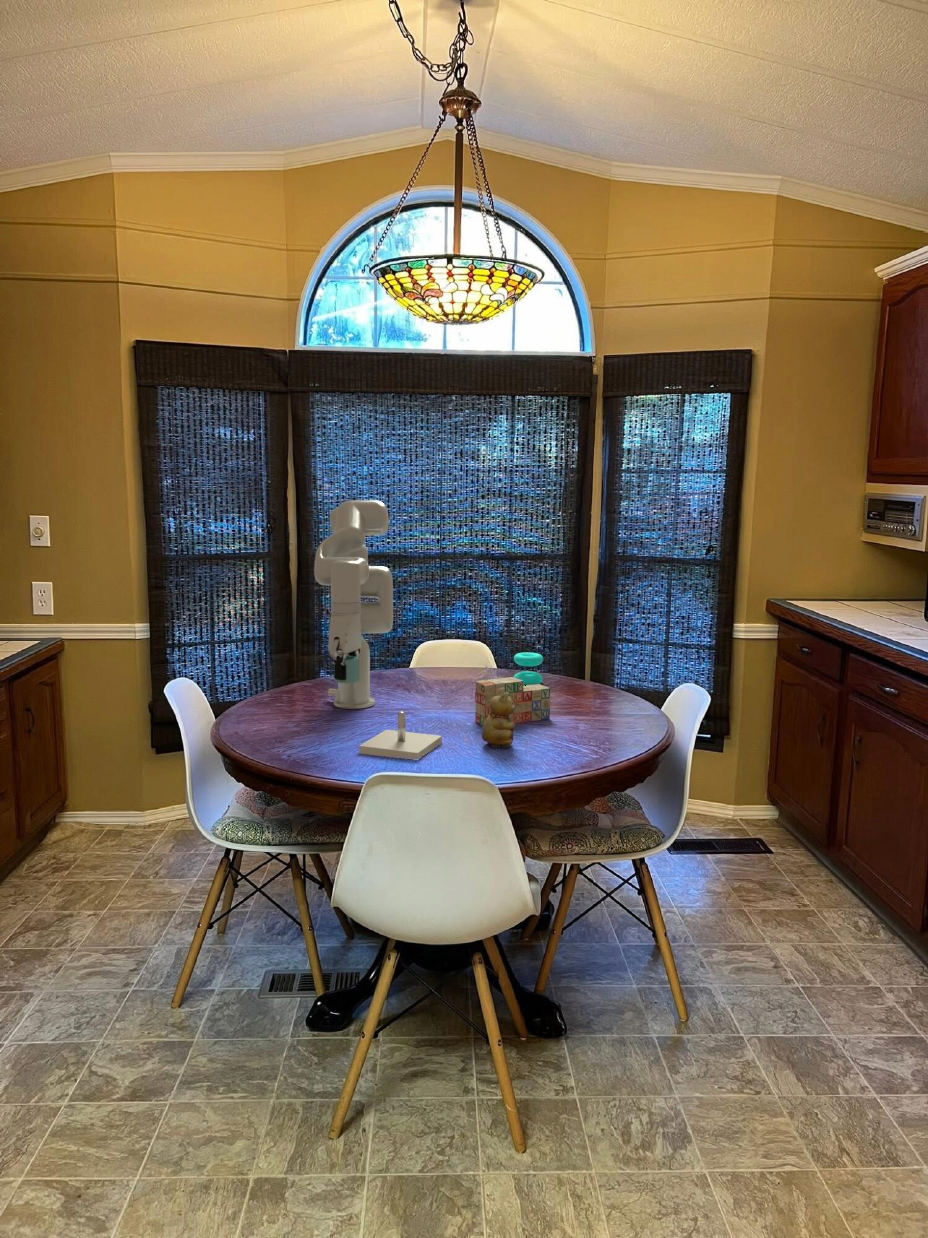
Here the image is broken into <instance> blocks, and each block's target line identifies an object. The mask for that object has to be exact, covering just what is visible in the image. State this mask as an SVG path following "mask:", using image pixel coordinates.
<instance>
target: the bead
mask: <svg viewBox="0 0 928 1238" xmlns="http://www.w3.org/2000/svg"><path fill="white" fill-rule="evenodd" d="M340 658H341V659H342V656H340ZM344 665H346V680H336V679H335V678H334V677H333V681H335V682H336V683H337V684H338V683H355V682H357V681H359V658H358V657H357V656H348V655H347V656H346V659H345V664H344Z"/></svg>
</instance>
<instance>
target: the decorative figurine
mask: <svg viewBox="0 0 928 1238" xmlns="http://www.w3.org/2000/svg"><path fill="white" fill-rule="evenodd" d="M504 690H505V689H504V688H500V689H499V690H498V691H497V692H496V695H495V697H493V698H492V699H491V701H490V710H491V711H490V713H489V715H488V717H487V720H486V721H485V723H484V725H483V726H482V733H481V738H482V741H483V742H487V743H488V744H490V746H491V748H510V747H511V745H512V744H513V741H514V731H515V730H516V729H515V728H516V723H512V722H511V720H510V718H509V715H510V714H512V713H513V711H514V710H515V705H514V702H513V701H512V699H511V698H510V697H509V692H504Z"/></svg>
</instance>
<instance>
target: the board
mask: <svg viewBox="0 0 928 1238" xmlns="http://www.w3.org/2000/svg"><path fill="white" fill-rule="evenodd" d="M441 743H442V744H443V736H442V735H437V734H428V733H421V732H411V731H406V711H401V710H400V711H397V730H392V729H385V730H384V731H382V732H380V733H378V734H376V735H375V736H373V737H372V738H370V739H368V740H367V741H365V742H363V743H362V744H360V745H359V746H358V749H359V751H358V752H359V755H368V756H376V757H384V756H385V757H386V758H392V757H393V758H394V759H399V758H406V759H405V760H407V759H419V758H421V757H422V756H424V755H425V754H427V753H428V752H429V753H430V751H431V750H432V749H433V750H435V749H436V748H437V747H436V746H438V745H439V746H440V745H442V744H441ZM439 746H438V747H439ZM435 747H436V748H435ZM434 748H435V749H434ZM433 750H432V751H433ZM432 751H431V752H432ZM429 753H428V754H429ZM428 754H427V755H428ZM425 756H426V755H425ZM425 756H424V757H425ZM385 757H384V758H385ZM393 758H392V759H393ZM422 758H423V757H422ZM422 758H421V759H422Z"/></svg>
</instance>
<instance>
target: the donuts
mask: <svg viewBox="0 0 928 1238" xmlns="http://www.w3.org/2000/svg"><path fill="white" fill-rule="evenodd" d="M513 661H514V662H515V663H516V664H517V665H519V666H522V667H536V666H539V665H541V664H542V663H543V662H544V657H543V656H542V654H540V653H537V652H527V651H526V652H519V653H516V654H515V655H514V656H513ZM513 677H514V678H517V679H519V680H522V681H523V686H525V685H536V684H540V685H541V684H542V682H543V680H544V679H543V676H542V675H541V674H540V673H538V672H537V671H536V672H535V671H531V670H530V671H525V670H524V671H519V672H517V673H515V674H514V675H513Z"/></svg>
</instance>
